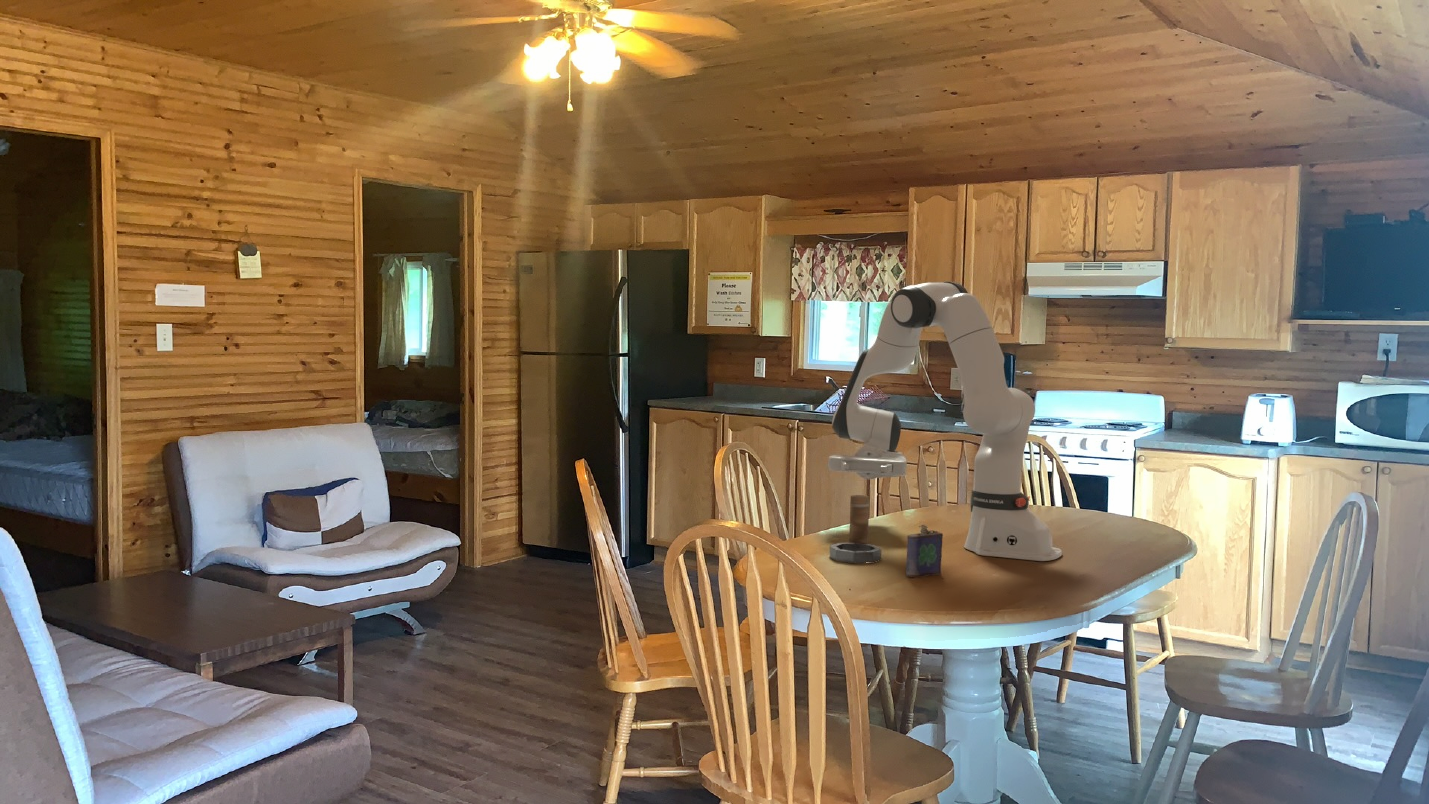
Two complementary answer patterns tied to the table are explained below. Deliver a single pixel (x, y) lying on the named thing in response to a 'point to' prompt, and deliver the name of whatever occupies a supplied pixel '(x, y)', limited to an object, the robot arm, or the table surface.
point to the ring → (855, 552)
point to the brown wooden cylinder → (859, 519)
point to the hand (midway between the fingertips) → (864, 468)
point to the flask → (924, 553)
